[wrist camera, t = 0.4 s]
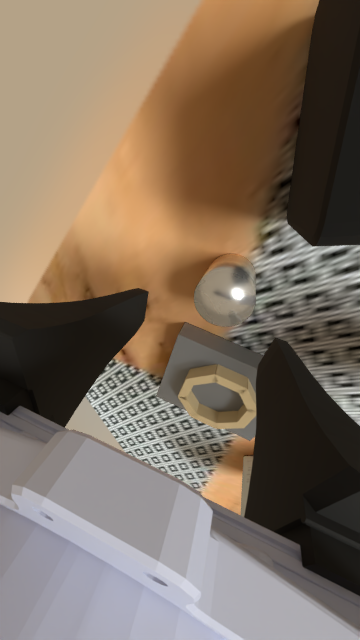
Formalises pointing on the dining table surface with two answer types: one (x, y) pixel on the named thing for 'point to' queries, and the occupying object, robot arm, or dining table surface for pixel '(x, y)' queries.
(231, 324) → the shiny metal cylinder
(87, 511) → the robot arm
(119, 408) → the dining table surface
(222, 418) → the grey square plate
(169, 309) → the dining table surface
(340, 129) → the electronic device
